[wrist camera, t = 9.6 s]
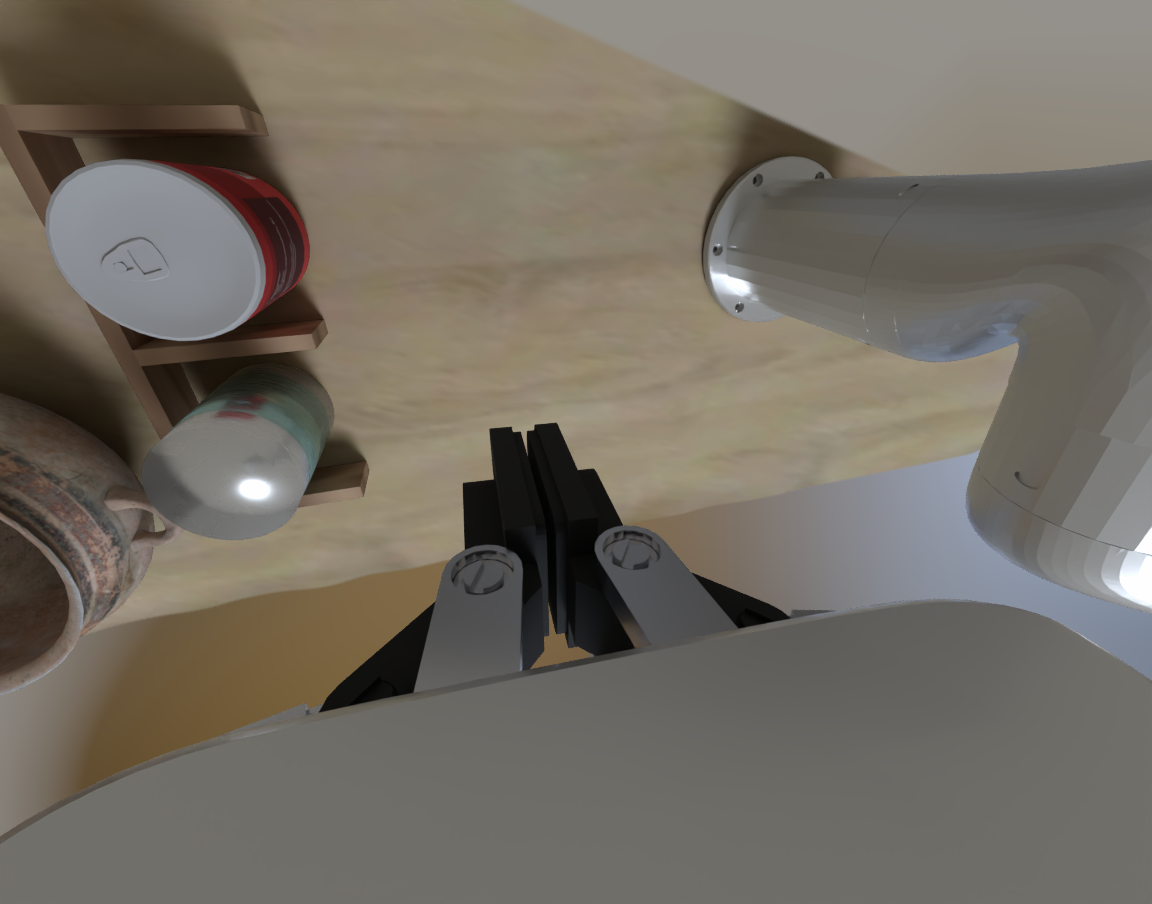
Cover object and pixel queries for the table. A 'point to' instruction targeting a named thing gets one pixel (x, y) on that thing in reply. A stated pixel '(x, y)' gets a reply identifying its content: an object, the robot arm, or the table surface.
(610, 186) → the table surface
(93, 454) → the cooking pot
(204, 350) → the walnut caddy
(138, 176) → the canned food
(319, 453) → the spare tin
